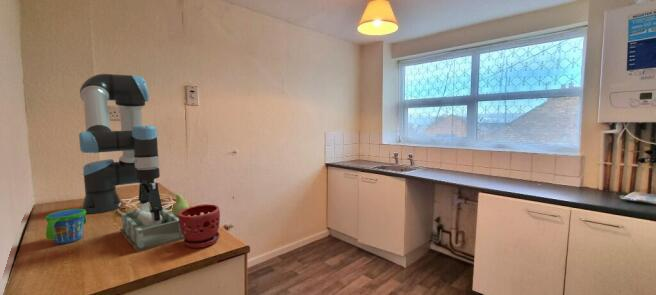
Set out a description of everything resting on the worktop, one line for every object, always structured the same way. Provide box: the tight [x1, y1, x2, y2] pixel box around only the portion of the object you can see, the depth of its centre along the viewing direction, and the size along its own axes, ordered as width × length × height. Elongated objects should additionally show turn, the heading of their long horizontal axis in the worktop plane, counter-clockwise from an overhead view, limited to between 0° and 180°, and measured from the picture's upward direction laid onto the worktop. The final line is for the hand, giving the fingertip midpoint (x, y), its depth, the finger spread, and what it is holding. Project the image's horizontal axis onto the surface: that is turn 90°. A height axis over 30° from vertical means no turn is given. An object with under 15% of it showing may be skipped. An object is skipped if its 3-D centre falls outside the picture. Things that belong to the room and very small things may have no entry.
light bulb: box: [132, 208, 163, 228], centre depth 110 cm, size 7×7×11 cm
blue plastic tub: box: [45, 208, 88, 245], centre depth 104 cm, size 16×10×10 cm
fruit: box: [169, 190, 190, 217], centre depth 128 cm, size 7×8×12 cm
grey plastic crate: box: [119, 207, 185, 253], centre depth 108 cm, size 25×15×7 cm, turn 46°
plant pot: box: [177, 204, 221, 249], centre depth 101 cm, size 13×13×12 cm
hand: (151, 224), depth 108 cm, fingers open, 13 cm apart
